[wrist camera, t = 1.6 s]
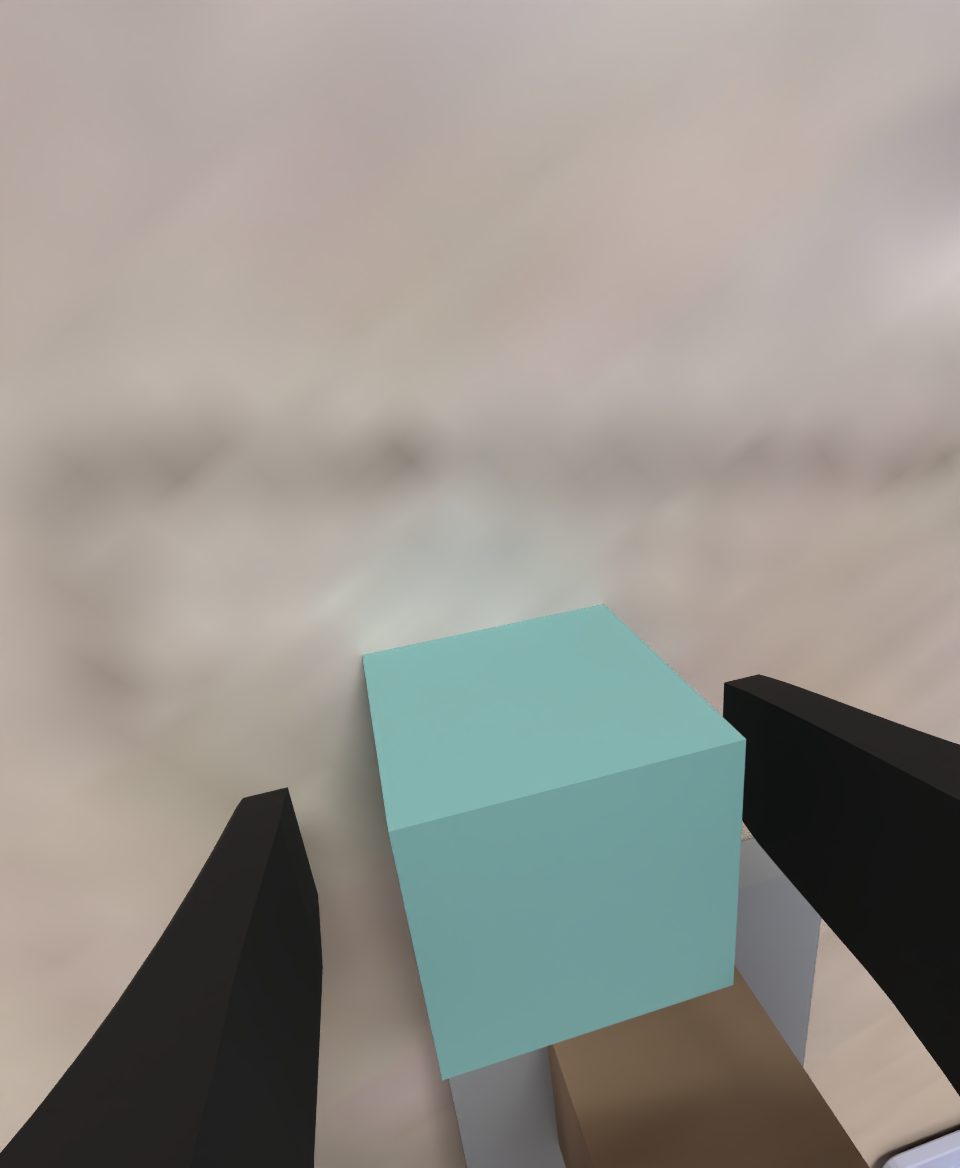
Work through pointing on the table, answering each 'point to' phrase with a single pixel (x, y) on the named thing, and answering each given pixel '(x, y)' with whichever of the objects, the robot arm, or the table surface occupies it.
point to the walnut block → (693, 1092)
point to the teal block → (555, 830)
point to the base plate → (762, 956)
